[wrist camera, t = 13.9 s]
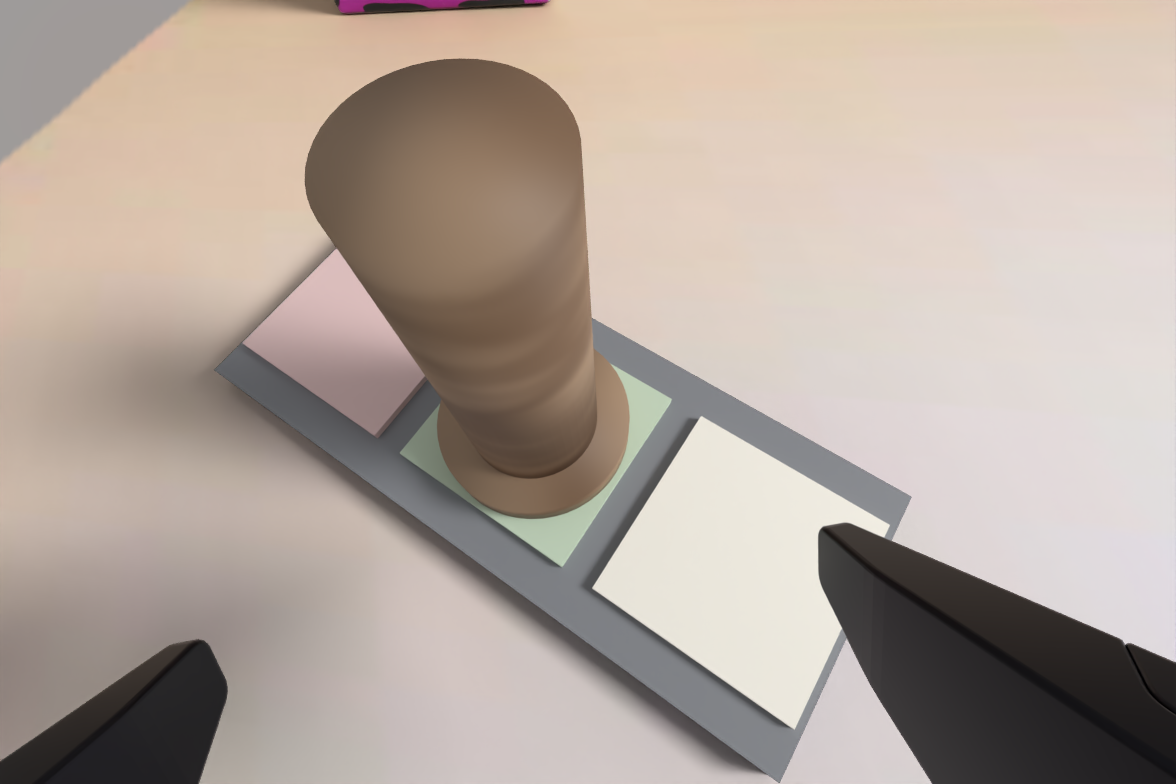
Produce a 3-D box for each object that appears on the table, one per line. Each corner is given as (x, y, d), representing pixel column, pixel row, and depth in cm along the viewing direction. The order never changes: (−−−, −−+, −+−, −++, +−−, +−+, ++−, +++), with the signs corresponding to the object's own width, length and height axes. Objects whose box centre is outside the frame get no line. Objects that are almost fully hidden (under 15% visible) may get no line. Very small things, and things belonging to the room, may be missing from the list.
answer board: (769, 775, 16) (782, 785, 15) (231, 381, 21) (208, 366, 20) (897, 503, 19) (916, 494, 18) (391, 217, 24) (380, 195, 23)
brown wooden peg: (507, 559, 17) (346, 426, 7) (412, 408, 19) (175, 126, 9) (666, 446, 18) (740, 184, 8) (560, 315, 21) (508, -30, 10)
